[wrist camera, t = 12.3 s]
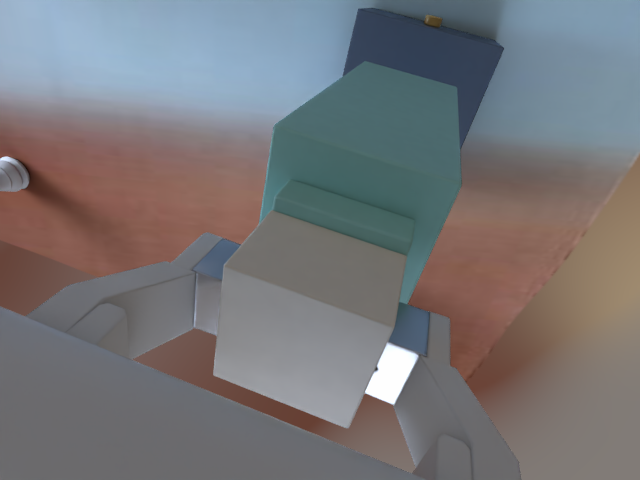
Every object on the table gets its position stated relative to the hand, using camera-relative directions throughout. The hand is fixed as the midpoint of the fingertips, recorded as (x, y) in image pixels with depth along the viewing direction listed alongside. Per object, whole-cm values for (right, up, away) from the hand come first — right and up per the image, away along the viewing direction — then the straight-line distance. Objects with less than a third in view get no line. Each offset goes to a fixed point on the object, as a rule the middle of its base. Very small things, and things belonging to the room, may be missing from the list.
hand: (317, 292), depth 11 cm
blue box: (+8, +14, +24) cm, 29 cm away
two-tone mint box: (+2, +2, +14) cm, 14 cm away
